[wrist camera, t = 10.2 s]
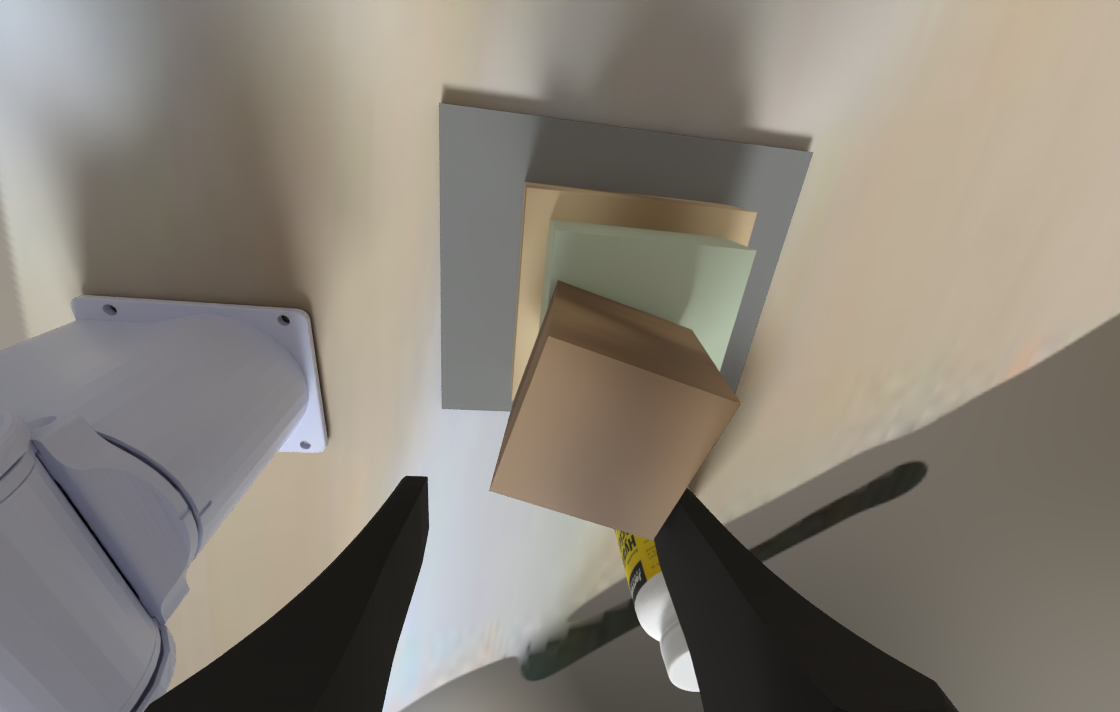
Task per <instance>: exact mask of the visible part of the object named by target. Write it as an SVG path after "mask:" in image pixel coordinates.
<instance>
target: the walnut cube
mask: <svg viewBox="0 0 1120 712" xmlns="http://www.w3.org/2000/svg"><path fill="white" fill-rule="evenodd" d="M739 405H740V402H739V401H738V399H737V398H736V396H735V394H734V393H733V391H732V390H731V388H730V387H729V385H728V384H727V382H726V381H725V379H724V378H723V376H722V375H721V373H720V372H719V370H718V369H717V367H716V365H715V364H714V362H713V361H712V359H711V358H710V356H709V355H708V353H707V352H706V350H705V349H704V347H703V346H702V344H701V343H700V341H699V340H698V338H697V337H696V335H695V333H694V332H693V330H692V329H689V328H686V327H684V326H681V325H678V324H675V323H673V322H670V321H667V320H665V319H662V318H659V317H656V316H654V315H651V314H648V313H646V312H643V311H640V310H638V309H635V308H632V307H629V306H627V305H624V304H621V303H619V302H616V301H613V300H610V299H608V298H605V297H602V296H600V295H597V294H594V293H591V292H589V291H586V290H583V289H581V288H578V287H575V286H572V285H570V284H567V283H564V282H562V281H559V280H558V282H557V285H556V287H555V290H554V293H553V295H552V298H551V301H550V303H549V306H548V309H547V312H546V314H545V317H544V320H543V322H542V325H541V328H540V330H539V333H538V336H537V339H536V341H535V344H534V347H533V349H532V352H531V355H530V357H529V360H528V363H527V365H526V368H525V371H524V374H523V376H522V379H521V382H520V384H519V387H518V390H517V392H516V395H515V398H514V401H513V405H512V408H511V412H510V416H509V419H508V423H507V427H506V431H505V434H504V438H503V442H502V445H501V449H500V453H499V457H498V460H497V464H496V468H495V471H494V475H493V479H492V482H491V486H490V490H489V491H492V492H495V493H499V494H502V495H505V496H508V497H512V498H515V499H518V500H521V501H525V502H528V503H531V504H535V505H538V506H541V507H544V508H548V509H551V510H554V511H557V512H561V513H564V514H567V515H570V516H574V517H577V518H580V519H583V520H587V521H590V522H593V523H597V524H600V525H603V526H606V527H610V528H613V529H616V530H619V531H623V532H626V533H629V534H632V535H636V536H639V537H642V538H646V539H649V540H652V541H653V540H654V538H655V536H656V535H657V533H658V532H659V530H660V529H661V527H662V526H663V524H664V522H665V521H666V519H667V518H668V516H669V515H670V513H671V511H672V510H673V508H674V507H675V505H676V504H677V502H678V501H679V499H680V497H681V496H682V494H683V493H684V491H685V490H686V488H687V487H688V485H689V483H690V482H691V480H692V479H693V477H694V476H695V474H696V472H697V471H698V469H699V468H700V466H701V465H702V463H703V462H704V460H705V458H706V457H707V455H708V454H709V452H710V451H711V449H712V448H713V446H714V444H715V443H716V441H717V440H718V438H719V437H720V435H721V433H722V432H723V430H724V429H725V427H726V426H727V424H728V423H729V421H730V419H731V418H732V416H733V415H734V413H735V412H736V410H737V409H738V407H739Z"/></svg>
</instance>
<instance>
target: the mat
mask: <svg viewBox="0 0 1120 712" xmlns="http://www.w3.org/2000/svg"><path fill="white" fill-rule="evenodd" d="M439 143H440V254H441V366H442V409H461V410H488V411H511V408H512V405H513V401H512V358H513V343H514V329H515V314H516V299H517V285H518V270H519V256H520V241H521V227H522V212H523V198H524V183H525V182H531V183H540V184H549V185H558V186H567V187H576V188H585V189H594V190H603V191H612V192H621V193H630V194H639V195H648V196H657V197H666V198H675V199H684V200H694V201H703V202H712V203H721V204H726V205H730V206H734V207H738V208H742V209H745V210H749V211H753V212H757V215H756V219H755V222H754V226H753V229H752V233H751V236H750V240H749V243H748V246H747V247H749V248H751V249H754V250H756V254H755V258H754V261H753V264H752V268H751V271H750V274H749V277H748V281H747V284H746V287H745V291H744V294H743V297H742V300H741V304H740V307H739V310H738V313H737V317H736V320H735V323H734V327H733V330H732V333H731V336H730V340H729V343H728V346H727V349H726V353H725V356H724V359H723V363H722V366H721V369H720V373H721V375H722V376H723V378H724V379H725V381H726V382H727V384H728V385H729V387H730V388H731V390H732V391H733V393H734V394H735V392H736V388H737V385H738V382H739V379H740V376H741V373H742V370H743V367H744V364H745V361H746V358H747V355H748V352H749V348H750V345H751V342H752V339H753V336H754V333H755V330H756V327H757V324H758V321H759V318H760V315H761V311H762V308H763V305H764V302H765V299H766V296H767V293H768V290H769V287H770V284H771V281H772V278H773V275H774V271H775V268H776V265H777V262H778V259H779V256H780V253H781V250H782V247H783V244H784V241H785V238H786V234H787V231H788V228H789V225H790V222H791V219H792V216H793V213H794V210H795V207H796V204H797V201H798V198H799V194H800V191H801V188H802V185H803V182H804V179H805V176H806V173H807V170H808V167H809V164H810V161H811V157H812V154H813V152H807V151H799V150H792V149H784V148H777V147H769V146H762V145H754V144H746V143H739V142H731V141H724V140H716V139H709V138H701V137H693V136H686V135H678V134H671V133H663V132H656V131H648V130H640V129H633V128H625V127H618V126H610V125H603V124H595V123H588V122H580V121H572V120H565V119H557V118H550V117H542V116H535V115H527V114H519V113H512V112H504V111H497V110H489V109H482V108H474V107H466V106H459V105H451V104H444V103H439Z"/></svg>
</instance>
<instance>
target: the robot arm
mask: <svg viewBox="0 0 1120 712" xmlns="http://www.w3.org/2000/svg"><path fill="white" fill-rule="evenodd" d="M110 305H112V306H113V307H115V308H116V310H117V312H115V311H114V310H112V308H111V307H110ZM71 308H72V310H73V313H74V315H75V318H76V321H74V322H72V323H69V324H66V325H64V326H61V327H59V328H56V329H54V330H51V331H49V332H46V333H44V334H41V335H39V336H36V337H33V338H31V339H28V340H26V341H23V342H21V343H18V344H16V345H13V346H11V347H8V348H5V349H3V350H1V351H0V712H382V709H383V704H384V700H385V695H386V690H387V686H388V681H389V677H390V672H391V667H392V663H393V659H394V655H395V651H396V648H397V644H398V641H399V637H400V634H401V631H402V628H403V624H404V621H405V618H406V615H407V611H408V608H409V605H410V602H411V598H412V595H413V592H414V589H415V585H416V582H417V579H418V576H419V572H420V569H421V566H422V562H423V557H424V552H425V547H426V541H427V536H428V531H429V511H428V477H423V476H405V477H404V478H403V479H402V480H401V481H400V483H399V484H398V486H397V487H396V488H395V490H394V491H393V492H392V494H391V495H390V497H389V498H388V499H387V500H386V502H385V503H384V504H383V506H382V507H381V508H380V509H379V511H378V512H377V513H376V514H375V515H374V517H373V518H372V519H371V520H370V521H369V523H368V524H367V525H366V526H365V527H364V528H363V530H362V531H361V532H360V533H359V534H358V535H357V537H356V538H355V539H354V540H353V541H352V542H351V543H350V544H349V545H348V546H347V547H346V548H345V549H344V551H343V552H342V553H341V554H340V555H339V556H338V557H337V558H336V559H335V560H334V561H333V562H332V563H331V564H330V565H329V566H328V567H327V568H326V569H325V570H324V571H323V572H322V573H321V574H320V575H319V576H318V577H317V578H316V579H315V580H314V581H312V582H311V583H310V584H309V585H308V586H307V587H306V588H305V589H304V590H303V591H302V592H301V593H299V594H298V595H297V596H296V597H295V598H294V599H292V600H291V601H290V602H289V603H288V604H287V605H285V606H284V607H283V608H282V609H281V610H280V611H278V612H277V613H276V614H275V615H274V616H272V617H271V618H270V619H269V620H268V621H266V622H265V623H264V624H263V625H261V626H260V627H259V628H257V629H256V630H255V631H253V632H252V633H251V634H249V635H248V636H247V637H245V638H244V639H243V640H241V641H240V642H239V643H238V644H236V645H235V646H234V647H232V648H231V649H230V650H228V651H227V652H226V653H224V654H223V655H222V656H220V657H219V658H217V659H216V660H215V661H213V662H212V663H210V664H209V665H208V666H206V667H205V668H203V669H202V670H200V671H199V672H197V673H196V674H194V675H193V676H191V677H190V678H188V679H187V680H185V681H184V682H182V683H181V684H179V685H178V686H176V687H175V688H173V689H172V690H170V691H169V692H167V689H168V687H169V684H170V682H171V679H172V676H173V672H174V667H175V663H176V646H175V642H174V639H173V636H172V634H171V632H170V631H169V630H168V628H167V627H166V626H165V625H164V624H165V623H166V622H167V620H168V619H169V618H170V616H171V615H172V614H173V612H174V611H175V609H176V608H177V607H178V605H179V604H180V603H181V601H182V600H183V598H184V597H185V596H186V594H187V593H188V592H189V587H188V585H187V583H186V571H187V569H188V567H189V566H190V564H191V562H192V561H193V560H194V559H195V558H196V556H197V555H198V554H199V553H200V551H201V550H202V549H203V547H204V546H205V545H206V543H207V542H208V541H209V540H210V538H211V537H212V536H213V534H214V533H215V532H216V531H217V529H218V528H219V527H220V525H221V524H222V523H223V521H224V520H225V519H226V518H227V516H228V515H229V514H230V512H231V511H232V510H233V509H234V507H235V506H236V505H237V503H238V502H239V501H240V499H241V498H242V497H243V496H244V494H245V493H246V492H247V490H248V489H249V488H250V487H251V485H252V484H253V483H254V481H255V480H256V479H257V477H258V476H259V475H260V474H261V472H262V471H263V470H264V468H265V467H266V466H267V465H268V463H269V462H270V461H271V459H272V458H273V457H274V455H275V454H276V453H277V452H322V451H324V449H325V448H326V446H327V445H328V438H327V431H326V424H325V418H324V411H323V404H322V397H321V390H320V383H319V377H318V370H317V363H316V356H315V349H314V343H313V336H312V329H311V322H310V318H309V315H308V314H307V313H306V312H305V311H303V310H301V309H296V308H280V307H265V306H250V305H234V304H219V303H203V302H188V301H173V300H157V299H142V298H126V297H111V296H96V295H82V296H79V297H76V298H74V299H73V300H72V301H71ZM282 315H284V316H286V317H288V318H289V320H290V323H287V322H284V321H283V320H282V318H281V316H282ZM304 441H307V442H309V443H310V445H308V444H306V443H304ZM654 542H655V547H656V552H657V556H658V561H659V565H660V568H661V571H662V574H663V577H664V580H665V583H666V585H667V588H668V591H669V594H670V597H671V600H672V603H673V605H674V608H675V611H676V614H677V617H678V620H679V623H680V625H681V628H682V631H683V634H684V637H685V640H686V643H687V646H688V649H689V652H690V656H691V659H692V663H693V667H694V671H695V675H696V679H697V683H698V687H699V691H700V695H701V699H702V704H703V708H704V712H958V710H957V709H956V708H955V706H954V705H953V704H952V702H951V701H950V700H949V699H948V697H947V696H946V695H945V693H944V692H943V691H942V690H941V688H940V687H939V686H938V684H937V683H936V682H935V681H933V680H932V679H930V678H928V677H926V676H925V675H923V674H921V673H919V672H917V671H916V670H914V669H912V668H911V667H909V666H907V665H905V664H903V663H902V662H900V661H898V660H897V659H895V658H893V657H891V656H890V655H888V654H886V653H884V652H883V651H881V650H880V649H878V648H876V647H875V646H873V645H872V644H870V643H869V642H867V641H865V640H864V639H862V638H861V637H859V636H857V635H856V634H854V633H853V632H851V631H850V630H848V629H847V628H845V627H844V626H842V625H841V624H839V623H838V622H836V621H835V620H834V619H832V618H831V617H830V616H828V615H827V614H825V613H824V612H823V611H821V610H820V609H818V608H817V607H815V606H814V605H813V604H811V603H810V602H809V601H807V600H806V599H805V598H804V597H802V596H801V595H800V594H798V593H797V592H796V591H795V590H793V589H792V588H791V587H789V586H788V585H787V584H786V583H785V582H784V581H782V580H781V579H780V578H779V577H778V576H776V575H775V574H774V573H773V572H772V571H771V570H769V569H768V568H767V567H766V566H765V565H764V564H763V563H762V562H760V561H759V560H758V559H757V558H756V557H755V556H754V555H753V554H752V553H751V552H750V551H749V550H747V549H746V548H745V547H744V546H743V545H742V544H741V543H740V542H739V541H738V540H737V539H736V538H735V537H734V536H733V535H732V534H731V533H730V532H729V531H728V530H727V529H726V528H725V527H724V526H723V525H722V524H721V523H720V522H719V521H718V520H717V518H716V517H715V516H714V515H713V514H712V513H711V512H710V511H709V510H708V509H707V508H706V507H705V506H704V505H703V504H702V503H701V501H700V500H699V499H698V498H697V497H696V496H695V495H694V494H693V493H692V492H691V491H690V490H689V489H688V488H686V490H685V491H684V493H683V494H682V496H681V497H680V499H679V501H678V502H677V504H676V505H675V507H674V508H673V510H672V511H671V513H670V515H669V516H668V518H667V519H666V521H665V522H664V524H663V526H662V527H661V529H660V530H659V532H658V533H657V535H656V536H655V538H654ZM166 692H167V693H166Z"/></svg>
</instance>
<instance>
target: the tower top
mask: <svg viewBox="0 0 1120 712" xmlns="http://www.w3.org/2000/svg"><path fill="white" fill-rule="evenodd" d="M755 254H756V250H754V249H751V248H749V247H746V246H744V245H742V244H739V243H737V242H734V241H732V240H730V239H727V238H725V237H716V236H707V235H697V234H688V233H678V232H668V231H659V230H649V229H640V228H630V227H621V226H611V225H601V224H592V223H582V222H573V221H563V220H554V219H550V221H549V231H548V241H547V251H546V261H545V271H544V281H543V291H542V301H541V311H540V321H539V330H540V328H541V325H542V322H543V320H544V317H545V314H546V312H547V309H548V306H549V303H550V301H551V298H552V295H553V293H554V290H555V287H556V285H557V282H558V280H559V281H562V282H564V283H567V284H570V285H572V286H575V287H578V288H581V289H583V290H586V291H589V292H591V293H594V294H597V295H600V296H602V297H605V298H608V299H610V300H613V301H616V302H619V303H621V304H624V305H627V306H629V307H632V308H635V309H638V310H640V311H643V312H646V313H648V314H651V315H654V316H656V317H659V318H662V319H665V320H667V321H670V322H673V323H675V324H678V325H681V326H684V327H686V328H689V329H692V330H693V332H694V333H695V335H696V337H697V338H698V340H699V341H700V343H701V344H702V346H703V347H704V349H705V350H706V352H707V353H708V355H709V356H710V358H711V359H712V361H713V362H714V364H715V365H716V367H717V369H718V370H719V372H720V369H721V366H722V363H723V359H724V356H725V353H726V349H727V346H728V343H729V340H730V336H731V333H732V330H733V327H734V323H735V320H736V317H737V313H738V310H739V307H740V304H741V300H742V297H743V294H744V291H745V287H746V284H747V281H748V277H749V274H750V271H751V268H752V264H753V261H754V258H755ZM538 333H539V331H538Z"/></svg>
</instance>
